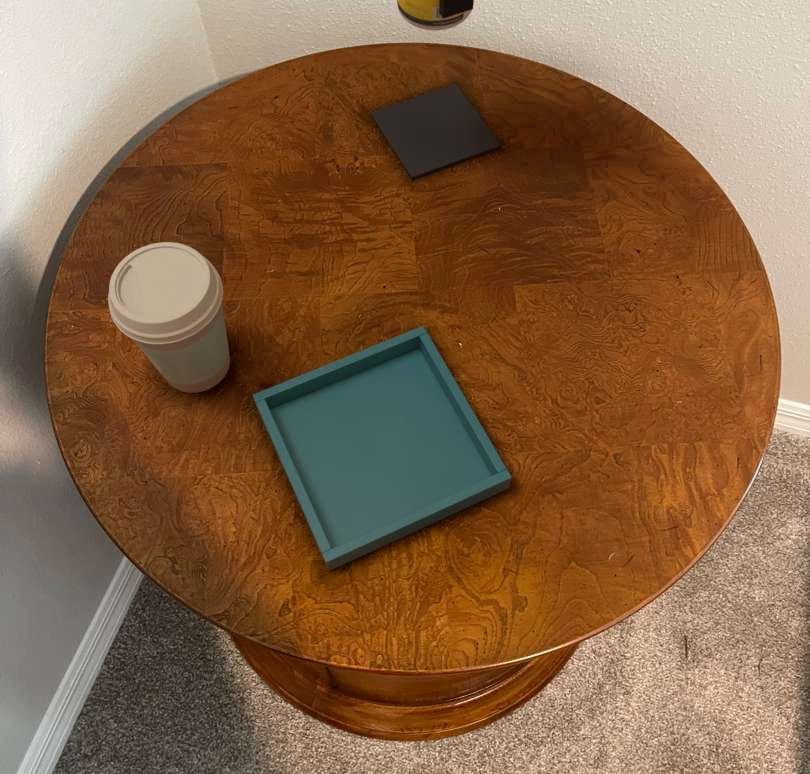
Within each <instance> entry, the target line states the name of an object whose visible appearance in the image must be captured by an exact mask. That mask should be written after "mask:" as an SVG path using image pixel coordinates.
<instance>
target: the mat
mask: <svg viewBox="0 0 810 774" xmlns="http://www.w3.org/2000/svg"><path fill="white" fill-rule="evenodd" d="M369 113H370V117H371V118H372V120H373V121H374V123H375V125H376V126H377V128H378V130H379V131H380V133H381V134H382V136H383V137H384V139H385V141H386V142H387V144H388V145H389V146H390V148H391V150H392V152H393V154H395V155H396V157H397V160H398V161H399V162H400V164H401V165H402V167H403V168H404V170H405V172H406V173H407V174H408V176H409V178H410V179H411V181H413V180H416V179H418V178H421V177H425V176H427V175H429V174H433V173H435V172H438V171H440V170H444V169H446V168H449V167H452V166H454V165H457V164H460V163H463V162H465V161H468V160H471V159H473V158H476V157H479V156H481V155H484V154H488V153H490V152H493V151H496V150H498V149H500V148H501V143H500V141H498V139H497V138H496V137H495V135H494V134H493V132H492V131H491V130H490V128H489V127H488V126H487V124H486V123H485V121H484V120H483V119H482V117H481V116H480V115H479V113H478V112H477V111H476V109H475V108H474V107H473V105H472V104H471V102H470V101H469V99H468V98H467V97H466V96H465V94H464V93H463V92H462V90H461V89H460V87H459V86H458V84H457V83H453V84H450V85H447V86H445V87H441V88H438V89H435V90H433V91H429V92H426V93H423V94H421V95H418V96H415V97H411V98H409V99H406V100H403V101H400V102H397V103H395V104H392V105H389V106H385V107H382V108H380V109H376V110H374V111H371V112H369Z"/></svg>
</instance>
